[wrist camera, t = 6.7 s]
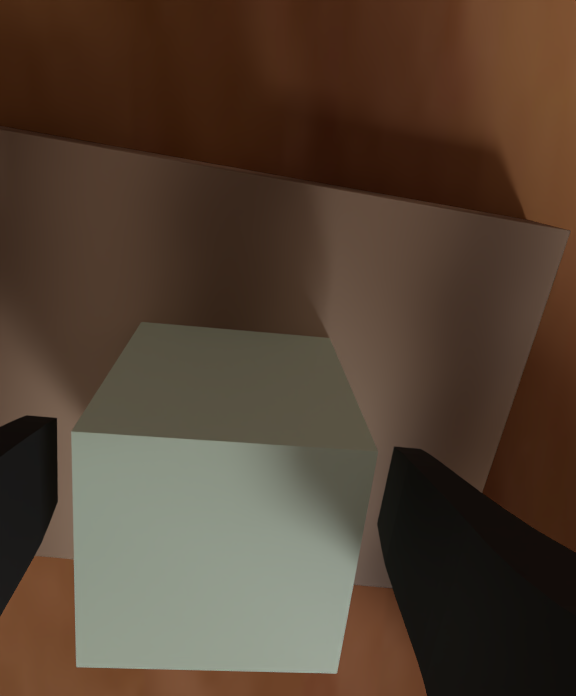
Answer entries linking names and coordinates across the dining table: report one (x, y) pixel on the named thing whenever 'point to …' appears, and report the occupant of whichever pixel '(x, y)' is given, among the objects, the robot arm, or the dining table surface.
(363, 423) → the sage block
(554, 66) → the dining table surface
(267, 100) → the dining table surface
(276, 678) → the dining table surface
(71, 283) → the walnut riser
